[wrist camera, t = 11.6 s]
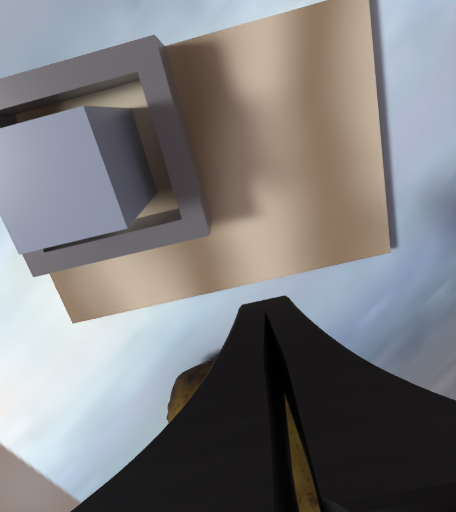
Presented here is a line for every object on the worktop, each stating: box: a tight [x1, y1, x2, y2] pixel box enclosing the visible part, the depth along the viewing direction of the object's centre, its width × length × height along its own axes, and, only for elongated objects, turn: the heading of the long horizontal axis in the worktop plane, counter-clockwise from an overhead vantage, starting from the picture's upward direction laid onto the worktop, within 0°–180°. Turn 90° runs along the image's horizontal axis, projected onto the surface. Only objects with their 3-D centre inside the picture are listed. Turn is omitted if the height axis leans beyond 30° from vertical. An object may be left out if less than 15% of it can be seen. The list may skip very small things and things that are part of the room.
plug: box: [0, 106, 158, 254], centre depth 15 cm, size 4×4×6 cm
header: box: [0, 35, 212, 277], centre depth 16 cm, size 9×8×2 cm
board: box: [15, 0, 391, 323], centre depth 18 cm, size 18×12×1 cm, turn 104°
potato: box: [167, 362, 320, 512], centre depth 20 cm, size 8×13×8 cm, turn 21°
